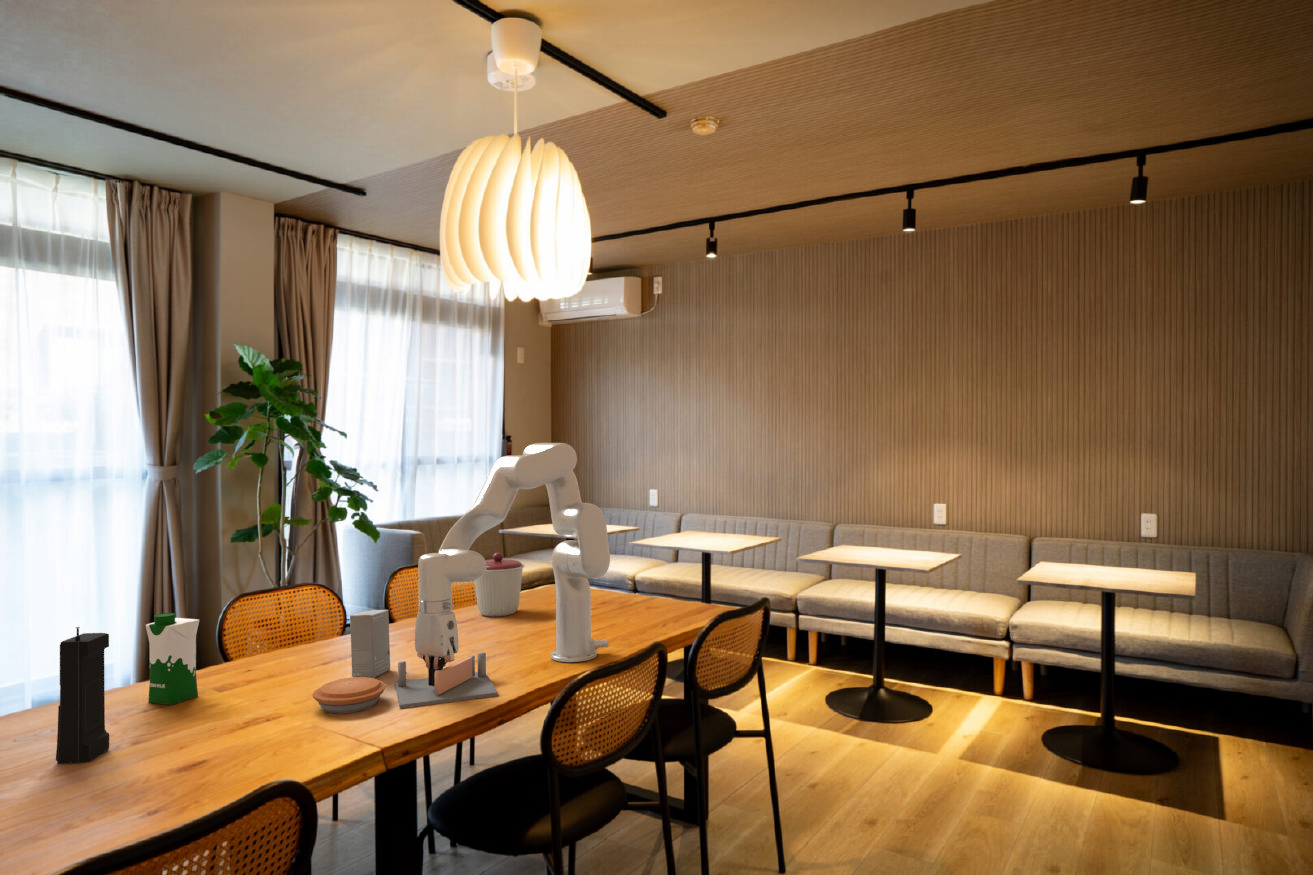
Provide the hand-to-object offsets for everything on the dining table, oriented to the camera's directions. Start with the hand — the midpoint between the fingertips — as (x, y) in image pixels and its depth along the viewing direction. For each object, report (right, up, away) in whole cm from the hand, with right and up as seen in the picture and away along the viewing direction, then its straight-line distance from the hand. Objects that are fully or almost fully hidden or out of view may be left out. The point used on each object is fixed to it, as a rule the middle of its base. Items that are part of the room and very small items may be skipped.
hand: (435, 684), depth 184 cm
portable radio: (-57, -3, -36) cm, 67 cm away
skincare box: (-21, -3, +16) cm, 27 cm away
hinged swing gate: (+2, -2, +2) cm, 3 cm away
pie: (-17, -2, -8) cm, 19 cm away
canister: (-3, -3, +86) cm, 86 cm away
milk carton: (-60, -3, -3) cm, 60 cm away
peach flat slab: (+4, -1, +2) cm, 5 cm away
